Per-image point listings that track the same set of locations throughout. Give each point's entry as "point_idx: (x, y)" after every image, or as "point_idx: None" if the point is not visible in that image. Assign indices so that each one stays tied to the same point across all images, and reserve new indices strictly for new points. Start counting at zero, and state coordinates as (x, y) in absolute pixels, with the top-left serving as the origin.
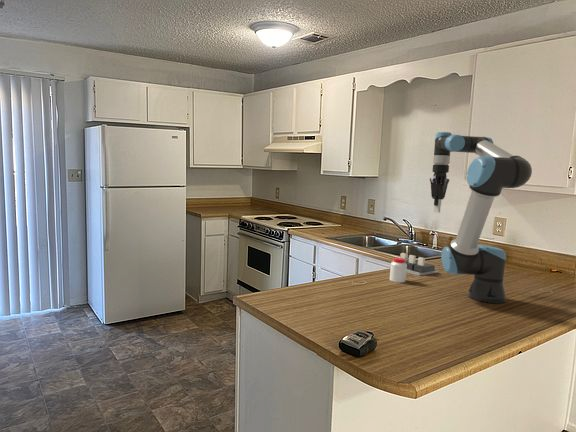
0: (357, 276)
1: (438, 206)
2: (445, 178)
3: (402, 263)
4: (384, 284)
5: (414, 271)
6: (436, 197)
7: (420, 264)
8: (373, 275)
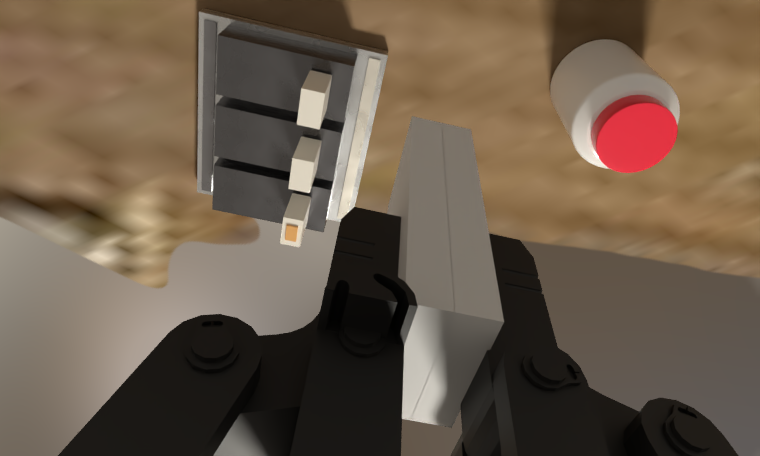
0: (653, 241)
1: (478, 201)
2: None
3: (659, 95)
4: (736, 89)
5: (370, 93)
6: (681, 410)
7: (329, 91)
8: (578, 207)
